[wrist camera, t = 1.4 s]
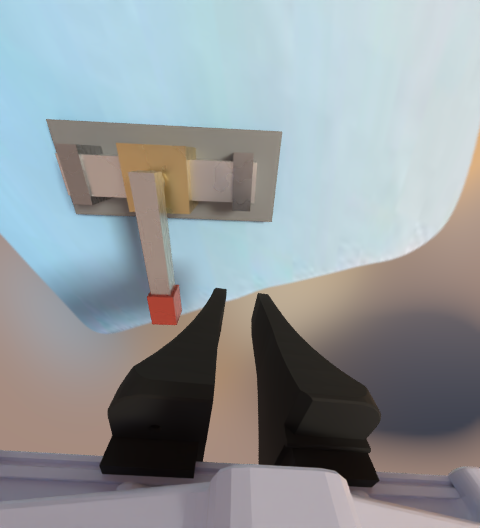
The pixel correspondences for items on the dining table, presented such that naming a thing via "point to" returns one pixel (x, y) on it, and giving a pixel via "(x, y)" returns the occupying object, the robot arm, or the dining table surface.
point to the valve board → (207, 147)
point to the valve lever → (156, 245)
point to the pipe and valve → (159, 159)
